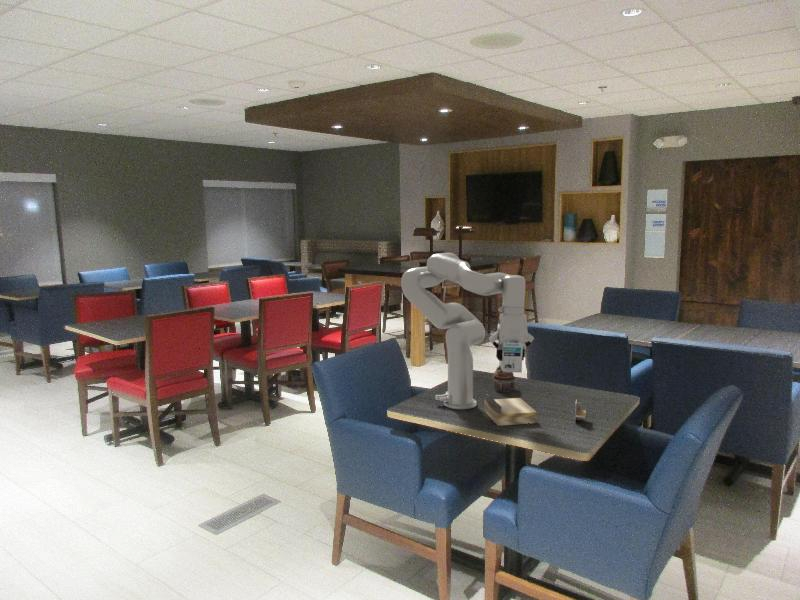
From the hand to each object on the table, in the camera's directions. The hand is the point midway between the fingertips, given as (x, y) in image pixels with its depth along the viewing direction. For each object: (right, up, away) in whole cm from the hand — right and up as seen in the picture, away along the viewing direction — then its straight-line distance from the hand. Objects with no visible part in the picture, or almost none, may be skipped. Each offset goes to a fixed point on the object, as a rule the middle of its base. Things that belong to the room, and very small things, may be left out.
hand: (510, 359), depth 208 cm
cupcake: (+4, -16, +36) cm, 40 cm away
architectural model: (+24, -22, -1) cm, 32 cm away
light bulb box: (0, -4, +1) cm, 4 cm away
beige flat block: (0, -21, +3) cm, 21 cm away
